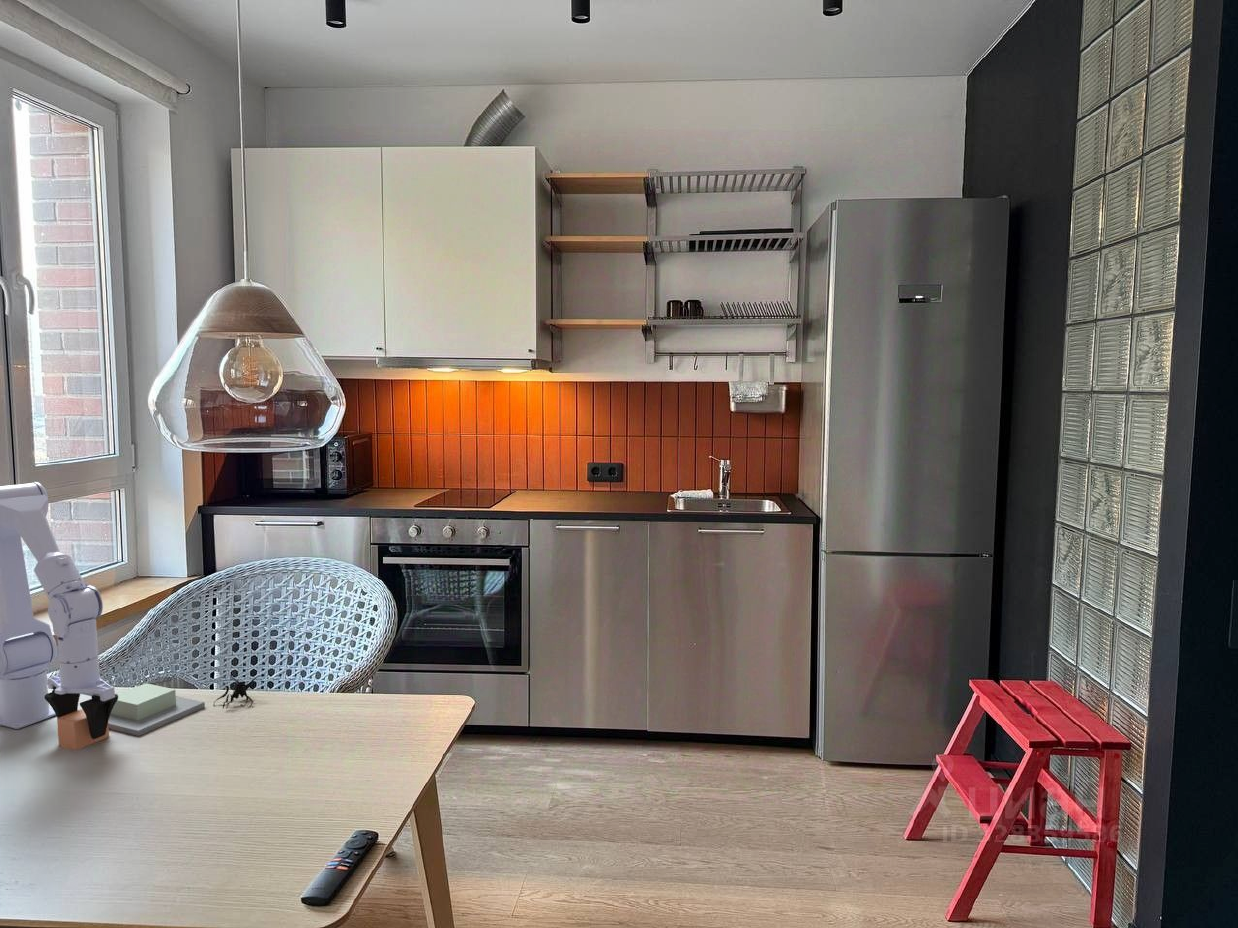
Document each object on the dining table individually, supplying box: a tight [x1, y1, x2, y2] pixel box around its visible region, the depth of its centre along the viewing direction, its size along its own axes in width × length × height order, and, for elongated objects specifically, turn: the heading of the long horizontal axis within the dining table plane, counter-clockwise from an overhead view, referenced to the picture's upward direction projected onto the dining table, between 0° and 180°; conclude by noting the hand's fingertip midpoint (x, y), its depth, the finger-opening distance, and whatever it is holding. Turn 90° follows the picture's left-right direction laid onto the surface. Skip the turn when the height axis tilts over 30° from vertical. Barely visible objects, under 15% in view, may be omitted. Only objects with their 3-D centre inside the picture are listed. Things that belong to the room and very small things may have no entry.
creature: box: [213, 674, 259, 710], centre depth 161 cm, size 8×5×8 cm
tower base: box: [108, 682, 206, 737], centre depth 156 cm, size 16×14×4 cm
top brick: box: [56, 708, 110, 751], centre depth 144 cm, size 4×6×5 cm
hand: (83, 732), depth 144 cm, fingers open, 7 cm apart
